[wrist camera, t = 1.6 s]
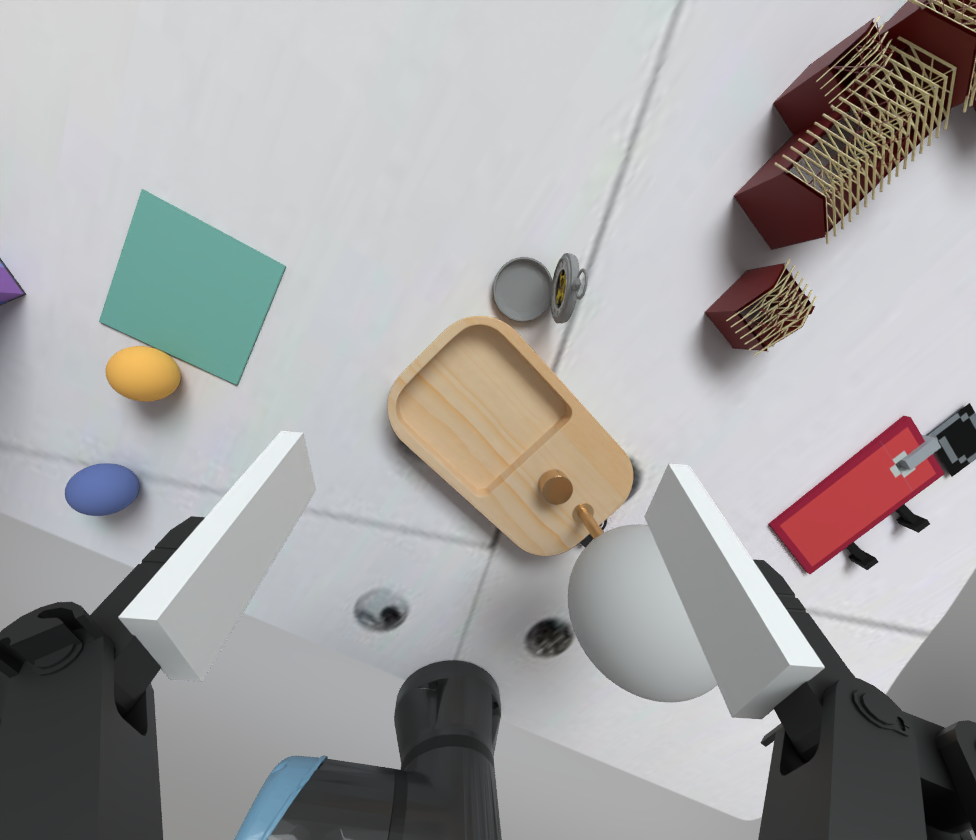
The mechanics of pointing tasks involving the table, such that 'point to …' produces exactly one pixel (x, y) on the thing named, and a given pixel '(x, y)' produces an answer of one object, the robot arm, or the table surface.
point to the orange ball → (143, 373)
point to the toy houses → (848, 146)
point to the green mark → (190, 289)
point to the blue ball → (102, 489)
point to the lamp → (551, 496)
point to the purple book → (8, 285)
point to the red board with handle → (874, 489)
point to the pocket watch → (538, 288)
